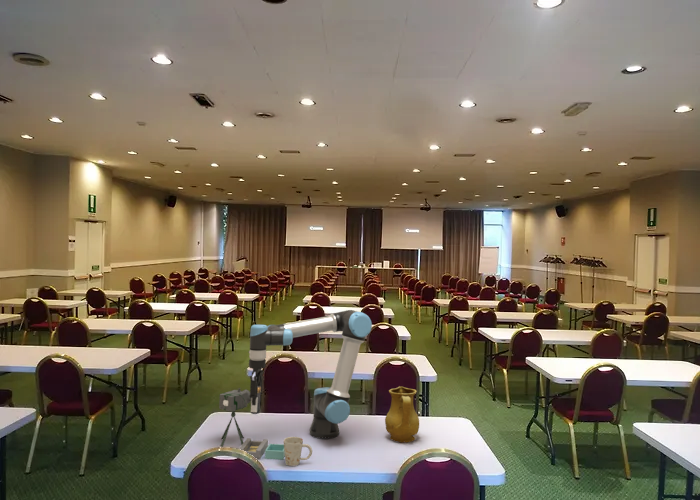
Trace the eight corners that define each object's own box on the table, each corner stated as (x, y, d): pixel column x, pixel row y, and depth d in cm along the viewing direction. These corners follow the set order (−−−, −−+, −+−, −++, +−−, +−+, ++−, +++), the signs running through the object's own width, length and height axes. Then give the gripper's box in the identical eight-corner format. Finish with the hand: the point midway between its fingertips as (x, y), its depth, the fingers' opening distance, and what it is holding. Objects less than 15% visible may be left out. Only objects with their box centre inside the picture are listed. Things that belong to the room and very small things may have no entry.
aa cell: (260, 411, 223) (261, 384, 223) (258, 414, 218) (259, 386, 219) (252, 411, 223) (253, 383, 223) (249, 413, 219) (250, 385, 219)
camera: (233, 450, 222) (234, 395, 223) (209, 443, 230) (211, 390, 231) (256, 440, 236) (258, 388, 236) (233, 433, 244) (235, 383, 244)
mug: (283, 459, 213) (284, 436, 213) (312, 459, 214) (312, 436, 214) (282, 467, 205) (283, 443, 205) (312, 467, 206) (312, 443, 206)
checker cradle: (267, 447, 227) (268, 439, 227) (260, 459, 213) (260, 450, 213) (246, 446, 227) (247, 438, 228) (237, 458, 213) (238, 449, 214)
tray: (287, 452, 221) (287, 444, 221) (283, 459, 213) (283, 451, 213) (269, 451, 222) (269, 443, 222) (264, 458, 213) (265, 450, 214)
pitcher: (424, 434, 247) (422, 386, 247) (413, 449, 230) (411, 396, 230) (392, 430, 255) (391, 383, 255) (379, 443, 238) (378, 393, 238)
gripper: (254, 355, 230) (252, 404, 229) (244, 362, 213) (241, 415, 212) (269, 355, 230) (267, 405, 229) (260, 362, 213) (258, 416, 212)
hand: (255, 410), depth 221 cm, fingers closed on aa cell, 4 cm apart
